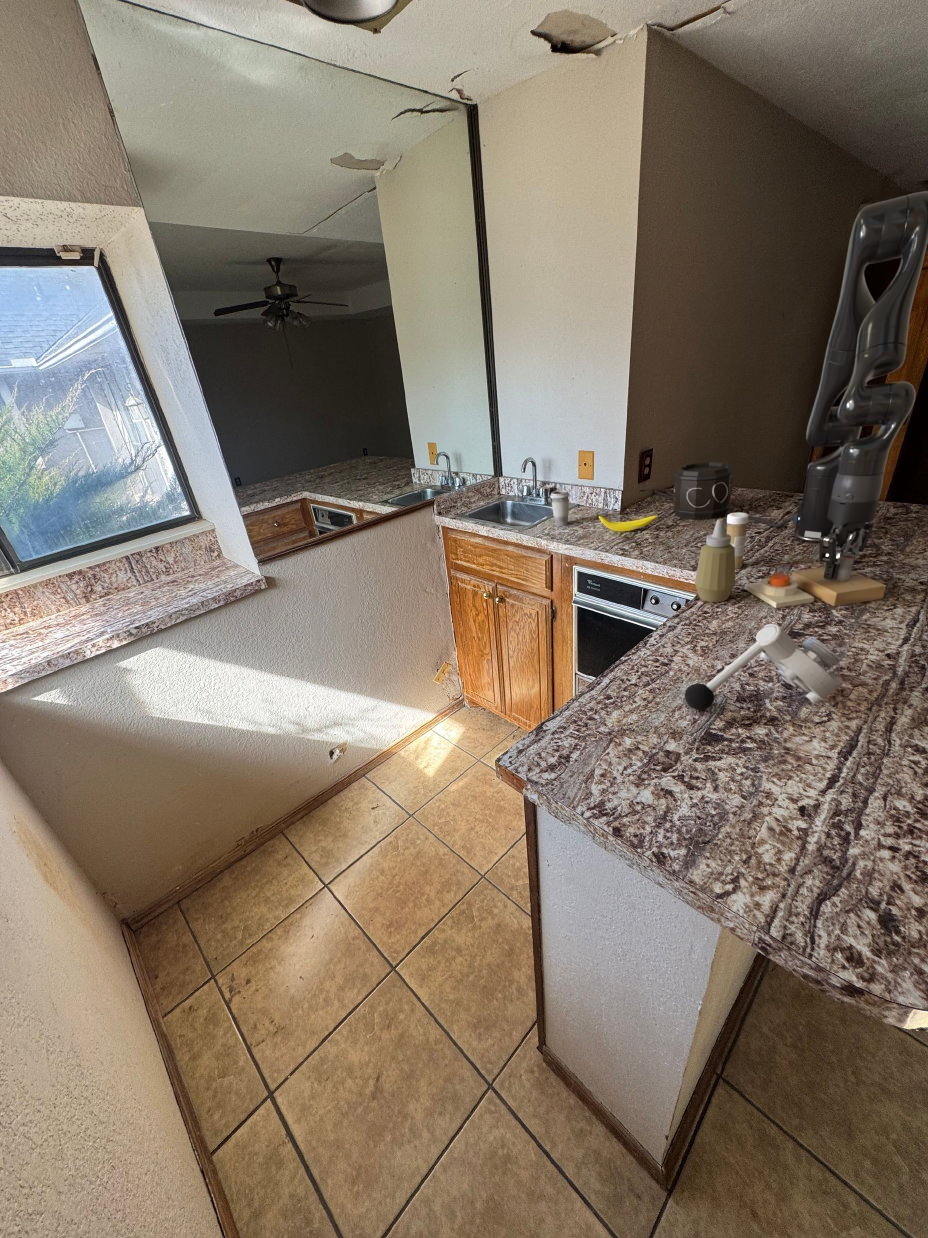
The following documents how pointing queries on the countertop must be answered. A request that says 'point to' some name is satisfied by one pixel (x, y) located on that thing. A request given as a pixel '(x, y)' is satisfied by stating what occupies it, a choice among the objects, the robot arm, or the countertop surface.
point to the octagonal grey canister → (703, 490)
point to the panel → (838, 587)
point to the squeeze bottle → (716, 566)
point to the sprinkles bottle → (737, 534)
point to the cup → (560, 507)
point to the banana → (626, 524)
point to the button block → (779, 593)
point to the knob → (845, 567)
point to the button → (779, 580)
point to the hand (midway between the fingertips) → (837, 575)
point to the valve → (789, 661)
